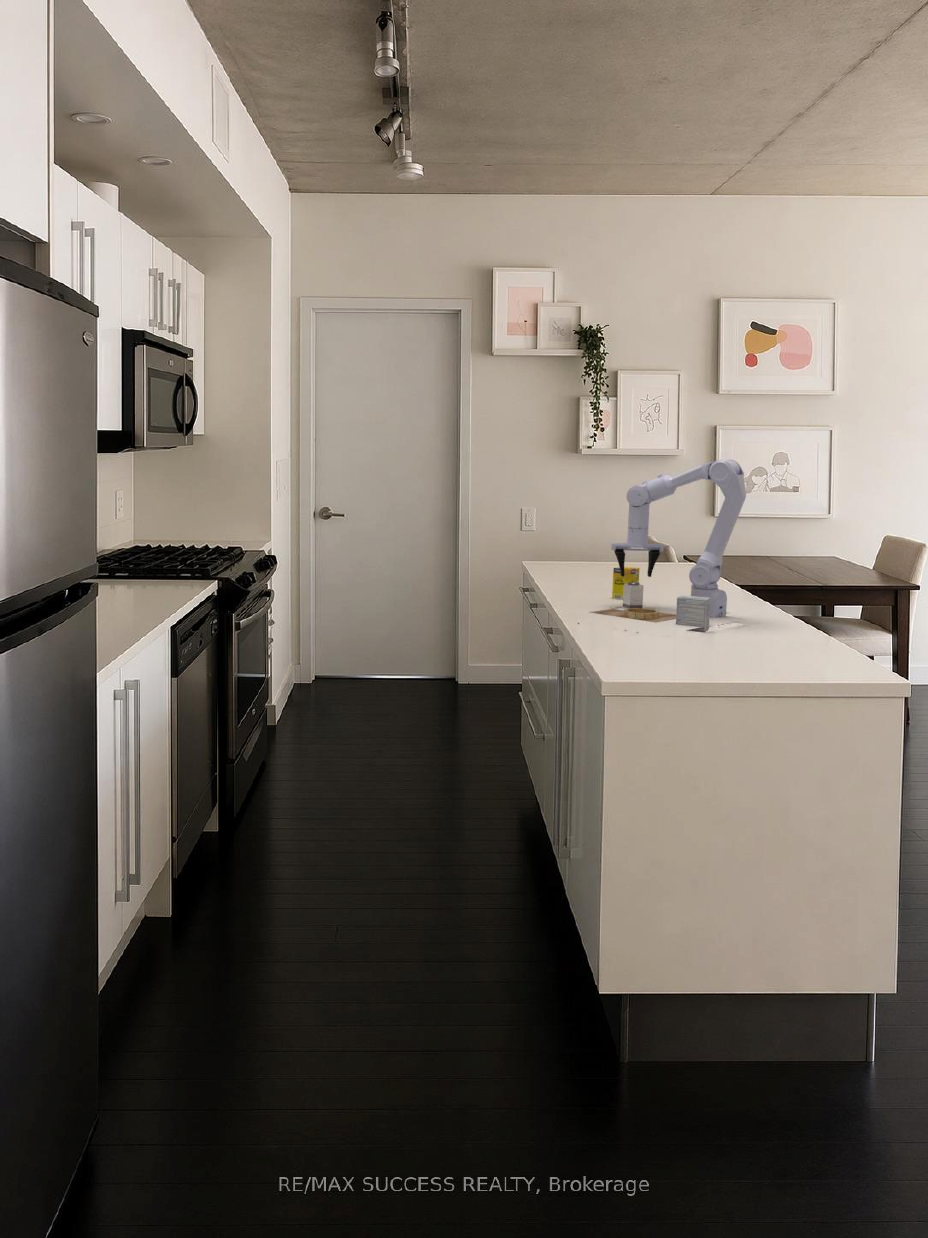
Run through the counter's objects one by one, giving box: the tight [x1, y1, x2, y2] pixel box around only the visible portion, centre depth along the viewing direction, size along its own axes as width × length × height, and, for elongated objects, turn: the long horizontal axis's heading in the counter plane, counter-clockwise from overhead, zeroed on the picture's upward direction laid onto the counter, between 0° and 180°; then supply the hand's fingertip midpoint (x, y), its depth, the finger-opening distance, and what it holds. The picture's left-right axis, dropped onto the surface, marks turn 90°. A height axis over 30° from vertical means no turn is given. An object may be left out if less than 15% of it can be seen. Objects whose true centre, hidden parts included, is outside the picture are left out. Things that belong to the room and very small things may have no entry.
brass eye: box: [624, 608, 660, 620], centre depth 306 cm, size 9×9×2 cm
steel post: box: [622, 582, 645, 609], centre depth 316 cm, size 4×4×8 cm
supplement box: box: [611, 565, 641, 601], centre depth 341 cm, size 6×6×11 cm
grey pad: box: [614, 607, 625, 612], centre depth 317 cm, size 7×7×1 cm
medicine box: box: [675, 595, 710, 633], centre depth 295 cm, size 8×4×9 cm, turn 65°
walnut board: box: [589, 606, 676, 623], centre depth 311 cm, size 22×16×2 cm
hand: (635, 576), depth 322 cm, fingers open, 7 cm apart
